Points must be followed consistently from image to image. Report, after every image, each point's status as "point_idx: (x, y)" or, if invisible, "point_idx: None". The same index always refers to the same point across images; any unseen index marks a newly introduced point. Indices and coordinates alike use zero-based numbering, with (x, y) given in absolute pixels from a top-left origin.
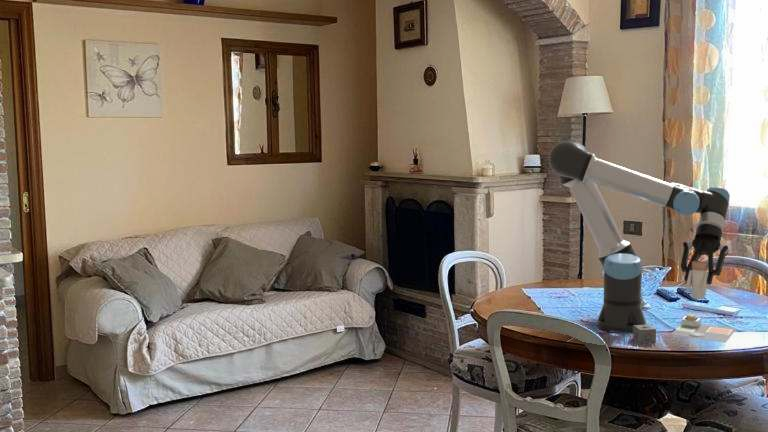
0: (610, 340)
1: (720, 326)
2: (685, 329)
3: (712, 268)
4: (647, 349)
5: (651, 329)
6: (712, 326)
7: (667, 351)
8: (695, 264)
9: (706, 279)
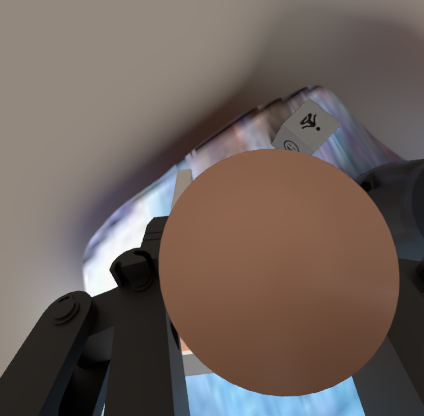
0: (356, 119)
1: (199, 373)
2: None
3: (119, 314)
4: (271, 109)
5: (290, 116)
6: None
7: (235, 119)
8: (289, 160)
9: (172, 208)
